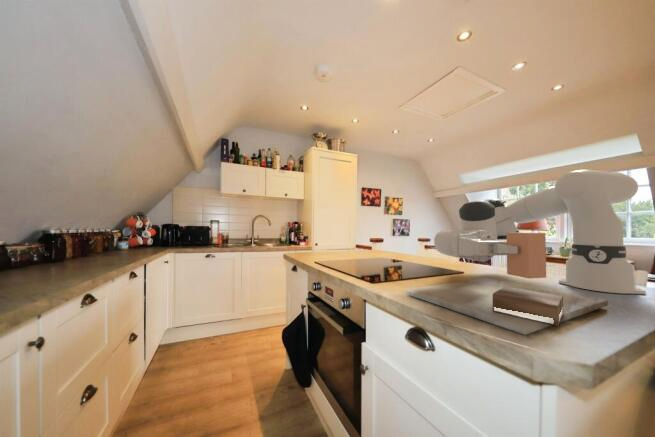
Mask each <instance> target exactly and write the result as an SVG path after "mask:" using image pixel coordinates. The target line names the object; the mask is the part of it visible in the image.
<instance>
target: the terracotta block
mask: <svg viewBox="0 0 655 437" xmlns="http://www.w3.org/2000/svg"><path fill="white" fill-rule="evenodd" d="M506 233H507V245H509V246H520V247H521V253H520V254H509V253H507V255H506V274H507V275H510V276H516V277H519V278H524V279H543V278H544V279H546V278H547V258H546V257H547V252H546V251H547V249H546V245H547V244H546V243H547V242H546V232H519V233H518V232H506Z"/></svg>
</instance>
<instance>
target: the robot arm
mask: <svg viewBox="0 0 655 437" xmlns="http://www.w3.org/2000/svg"><path fill="white" fill-rule="evenodd" d="M638 190H639V185H638V182H637V181H636V179H635V178H633V177H631V176H629V175H627V174H625V173H622V172H620V171H619V172H618V171H606V170H597V169H596V170H594V169H578V170H573V171H568V172H566V173H564V174H562V175H560V176H559V177H558V179H557V180H556V181H555V184H554V186H549V187H546V188H544V189H542V190H538V191H536V192H534V193H532V194H528V195H526V196H524V197H522V198H520V199H517V200H516V201H514V202H512V203H510V204H506V203H507V201H506V200H504V201H503V200H501V199H499V198H486V199H484V200H472V201H469V202H466V203H464V204H462V206H460V208H458V216H459V218H460V227H461V229H445V230H441V231H438V232H437V233H435V236H434V239H433V240H434V242H433V243H434V249H435V250H436V251H437V252H438V253H440V254H442V255H445V256H448V257H452V258H453V257H454V258H459V259H466V260H471V261H477V262H484V263H485V262H488V261H489V260H491V259H492V258H493V257H494V256H507V253H509V254H520V253H521V247H520V246H509V245H507V233H506V232H518V233H520V230H519V229H518V228H517V225H516V224H528V223H533V222H538V221H542V220H547V219H550V218H552V217H553V218H554V217H557V216H561V215H564V214H565V215H566V214H569V216H570V219H571V223H572V224H571V225H572V241H573V242H572V244H571V248H570V250H571V255H572V256H571V257H570V258H568V259H566V261H565V278H561V279H559V280H558V283H559V284H563V285H567V286H571V287H574V288H578V289H583V290H584V289H585V290H591V291H594V292H595V291H596V292H602V293H612V294H613V293H614V294H626V295H627V294H635V295H636V294H637V295H646V294H647V291H646V290H645V289H642V288H640V287H638V286H637V284H636V273H635V265H633V264H632V263H630V262H629V261H628V260H627V259H626V258H627V247H626V246H624V227H623V226H624V225H623V224H624V223H623V221H622V219H621V218H620V217H618V215H617V214H616V212H615V210H614V207H613V204H614V205H615V204H619V203H623V202H626V201H628V200H630V199H632V198H633V197H635V195H636V194H637V193H638Z"/></svg>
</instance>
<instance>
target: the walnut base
mask: <svg viewBox="0 0 655 437" xmlns="http://www.w3.org/2000/svg"><path fill="white" fill-rule="evenodd" d="M493 307H496V308H501V309H506V310H512V311H518V312H523V313H529V314H533V315H538V316H543V317H549V318H553V320H554V323H553V324H552V326H557V327H558V326H559V325H560V323H561V320H560V321H559V314H560V312H561V310H562V307H563V308H564V295H561V294H555V293H549V292H542V291H535V290H531V289H530V290H528V289H522V288H517V287H510V286H503V287H501V288H500V289H498V290H497V291H495V292H493V293H492V308H493Z"/></svg>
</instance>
